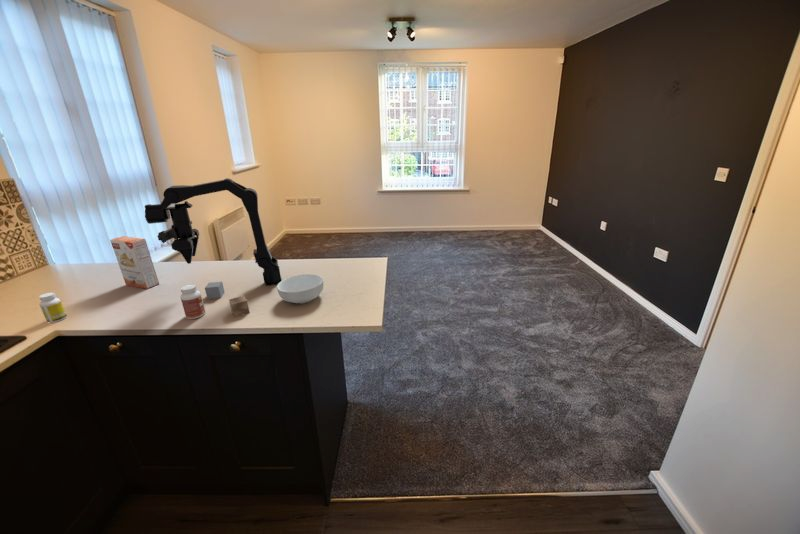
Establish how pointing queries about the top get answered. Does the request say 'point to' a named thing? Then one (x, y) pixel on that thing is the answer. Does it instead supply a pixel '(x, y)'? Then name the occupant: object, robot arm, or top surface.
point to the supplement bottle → (52, 308)
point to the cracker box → (135, 261)
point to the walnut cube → (239, 306)
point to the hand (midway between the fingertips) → (191, 259)
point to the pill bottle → (192, 302)
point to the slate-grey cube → (214, 290)
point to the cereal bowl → (300, 288)
